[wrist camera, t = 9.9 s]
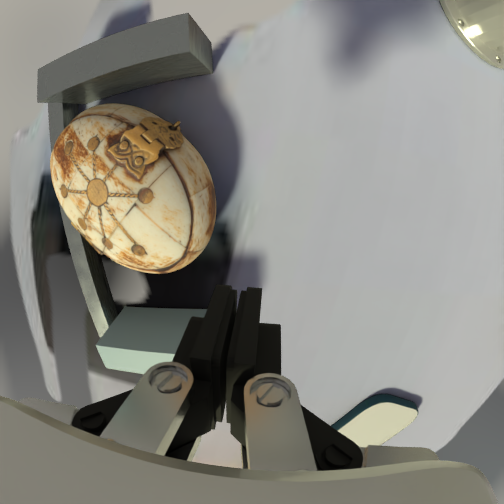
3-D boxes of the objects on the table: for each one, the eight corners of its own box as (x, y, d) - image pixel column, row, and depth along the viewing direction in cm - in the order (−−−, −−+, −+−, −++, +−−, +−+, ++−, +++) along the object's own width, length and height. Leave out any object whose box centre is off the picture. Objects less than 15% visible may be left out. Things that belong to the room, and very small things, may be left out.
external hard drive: (375, 386, 33) (378, 397, 31) (422, 402, 34) (426, 411, 32) (280, 457, 42) (279, 466, 40) (329, 467, 43) (330, 475, 41)
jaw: (124, 306, 30) (95, 345, 23) (229, 309, 29) (217, 356, 22) (132, 328, 31) (106, 367, 24) (232, 332, 30) (222, 380, 23)
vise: (63, 86, 21) (16, 82, 14) (211, 42, 19) (188, 12, 13) (109, 325, 31) (81, 361, 25) (237, 331, 30) (228, 379, 23)
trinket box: (214, 262, 27) (192, 308, 20) (82, 232, 27) (35, 263, 20) (238, 116, 22) (221, 106, 15) (88, 106, 22) (34, 104, 15)
